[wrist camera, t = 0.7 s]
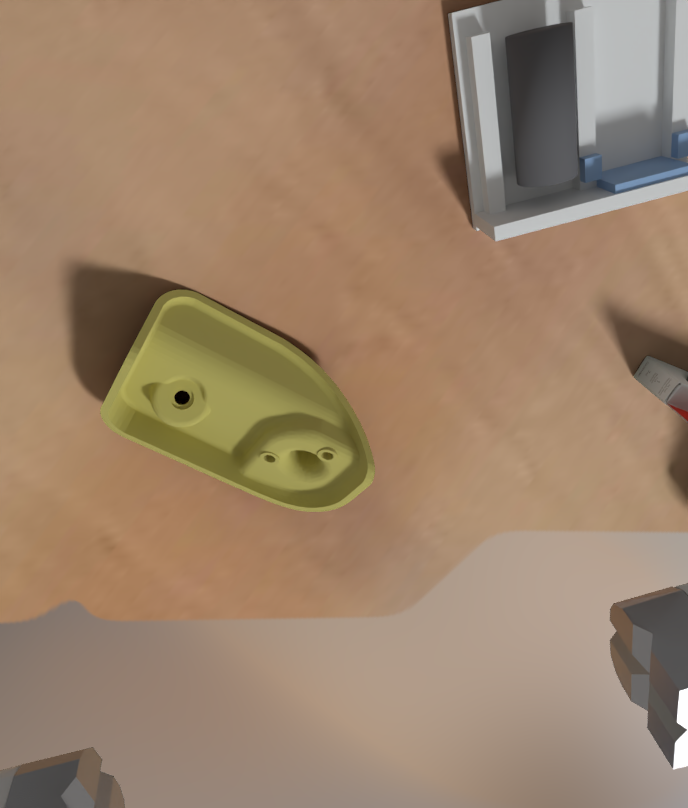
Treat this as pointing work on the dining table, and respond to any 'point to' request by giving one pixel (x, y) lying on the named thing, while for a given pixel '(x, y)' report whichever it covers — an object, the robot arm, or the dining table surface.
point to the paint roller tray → (577, 109)
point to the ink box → (665, 384)
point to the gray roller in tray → (543, 104)
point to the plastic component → (239, 407)
